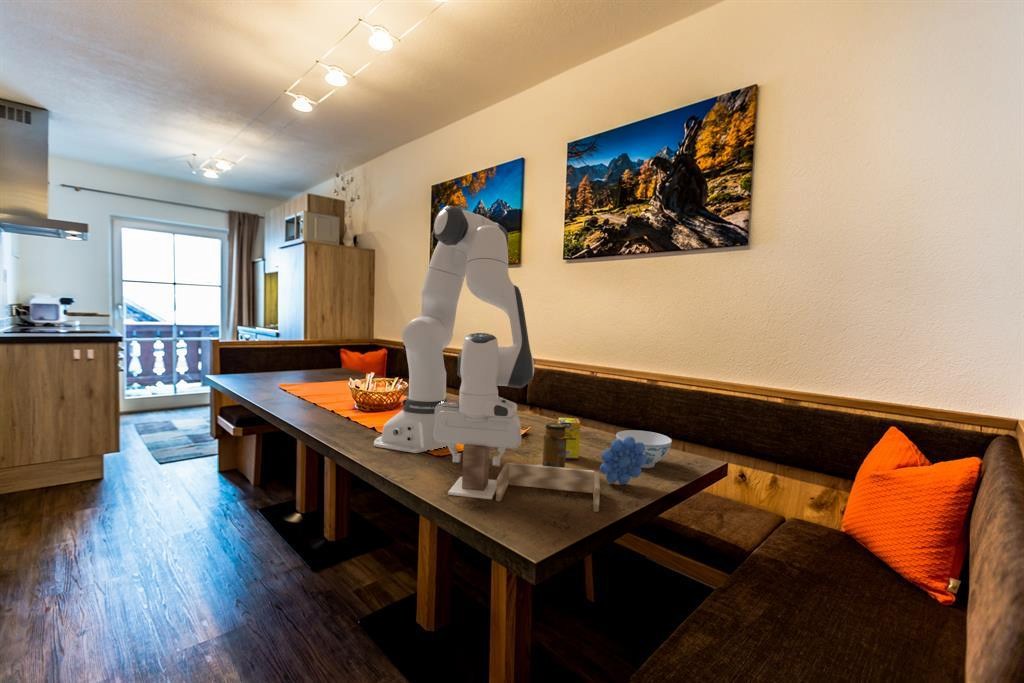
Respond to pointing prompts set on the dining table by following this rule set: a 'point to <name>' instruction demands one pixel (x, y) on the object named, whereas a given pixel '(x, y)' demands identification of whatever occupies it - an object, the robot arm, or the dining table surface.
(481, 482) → the walnut block
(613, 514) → the dining table surface
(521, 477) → the u-shaped barrier
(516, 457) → the dining table surface
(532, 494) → the dining table surface
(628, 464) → the grapes
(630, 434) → the chinaware
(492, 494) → the coaster
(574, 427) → the supplement box
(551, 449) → the condiment
